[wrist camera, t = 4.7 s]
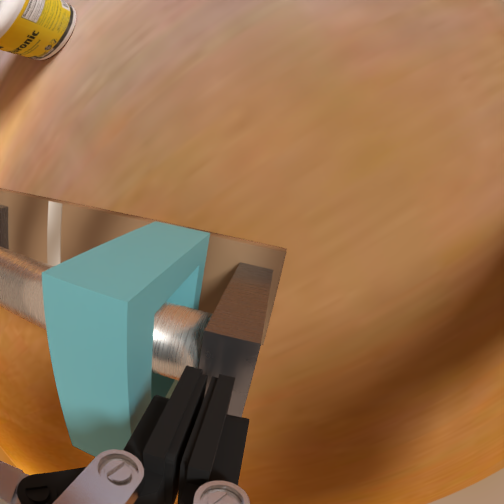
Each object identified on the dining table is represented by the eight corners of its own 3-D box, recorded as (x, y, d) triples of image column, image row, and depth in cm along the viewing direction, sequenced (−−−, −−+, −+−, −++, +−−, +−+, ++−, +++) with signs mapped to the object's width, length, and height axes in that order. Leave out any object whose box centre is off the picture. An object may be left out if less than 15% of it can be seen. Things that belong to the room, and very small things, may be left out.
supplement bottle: (26, 67, 17) (-59, 49, 8) (40, 15, 16) (-34, -15, 7) (70, 54, 17) (-22, 22, 8) (85, -2, 16) (9, -48, 6)
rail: (273, 265, 19) (261, 343, 10) (260, 322, 20) (240, 420, 12) (2, 202, 21) (-78, 222, 12) (2, 245, 22) (-72, 274, 13)
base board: (286, 249, 19) (286, 252, 18) (264, 339, 21) (262, 345, 20) (0, 188, 20) (-7, 189, 20) (0, 256, 22) (-6, 258, 21)
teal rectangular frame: (210, 233, 16) (127, 302, 7) (191, 362, 18) (135, 473, 9) (155, 221, 16) (41, 272, 7) (145, 348, 18) (72, 445, 10)
